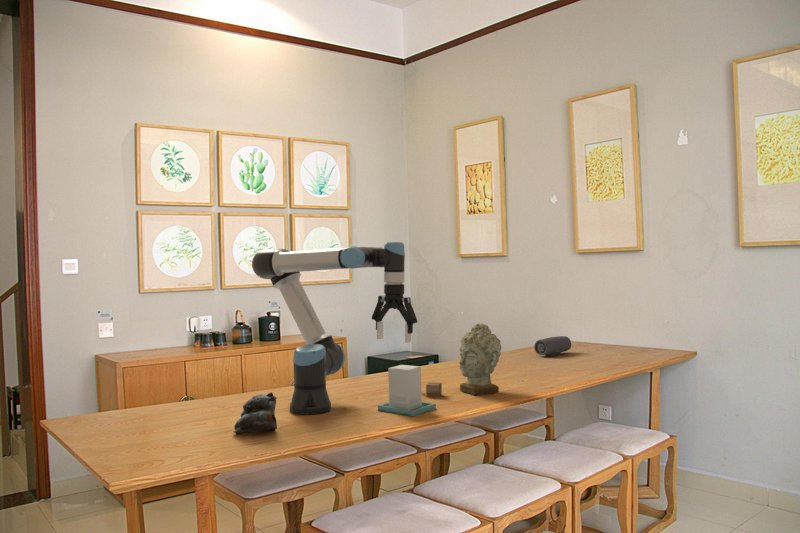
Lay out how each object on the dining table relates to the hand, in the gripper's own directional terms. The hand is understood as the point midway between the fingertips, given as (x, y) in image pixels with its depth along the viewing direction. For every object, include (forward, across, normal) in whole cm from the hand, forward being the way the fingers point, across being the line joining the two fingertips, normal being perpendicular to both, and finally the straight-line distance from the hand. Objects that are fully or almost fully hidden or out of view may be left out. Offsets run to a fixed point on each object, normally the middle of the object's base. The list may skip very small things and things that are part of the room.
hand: (393, 340), depth 241 cm
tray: (+25, -7, 0) cm, 26 cm away
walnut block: (+25, -1, -24) cm, 34 cm away
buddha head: (+24, -12, -41) cm, 49 cm away
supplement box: (+24, -6, +1) cm, 25 cm away
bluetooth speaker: (+24, +7, -146) cm, 148 cm away
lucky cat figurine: (+26, +14, +52) cm, 60 cm away
